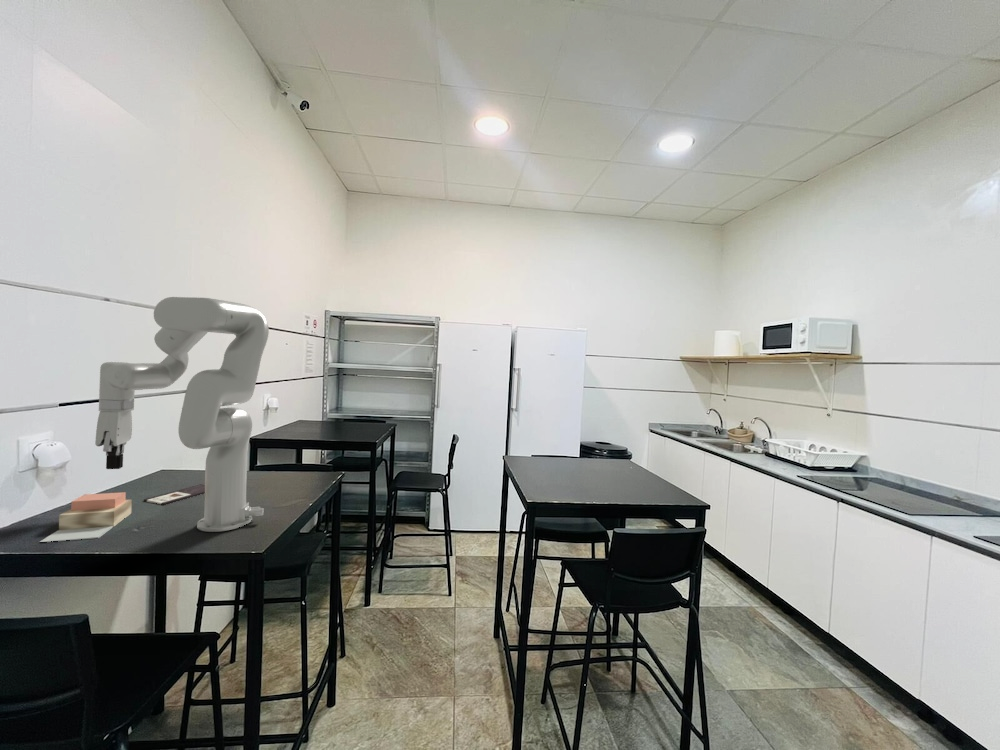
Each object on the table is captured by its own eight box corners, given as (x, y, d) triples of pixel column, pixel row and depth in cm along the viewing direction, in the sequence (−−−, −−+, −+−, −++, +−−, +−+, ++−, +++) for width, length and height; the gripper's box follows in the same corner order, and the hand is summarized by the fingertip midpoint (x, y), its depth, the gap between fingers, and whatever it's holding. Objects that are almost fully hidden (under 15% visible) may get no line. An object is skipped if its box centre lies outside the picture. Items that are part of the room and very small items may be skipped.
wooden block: (131, 513, 120) (131, 499, 120) (113, 526, 111) (114, 511, 111) (81, 516, 117) (81, 502, 116) (59, 530, 107) (59, 515, 107)
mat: (112, 527, 111) (112, 526, 111) (98, 538, 104) (98, 536, 104) (57, 531, 107) (57, 530, 107) (39, 543, 100) (39, 541, 100)
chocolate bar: (220, 487, 145) (164, 503, 128) (220, 490, 145) (164, 506, 128) (200, 484, 148) (143, 499, 131) (200, 486, 148) (143, 502, 131)
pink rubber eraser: (125, 500, 119) (125, 492, 119) (114, 507, 113) (115, 499, 113) (84, 503, 116) (84, 494, 116) (71, 510, 110) (71, 501, 110)
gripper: (113, 401, 128) (111, 462, 129) (85, 408, 114) (83, 475, 115) (144, 402, 131) (141, 461, 131) (120, 408, 117) (118, 475, 117)
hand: (114, 468), depth 123 cm, fingers closed
